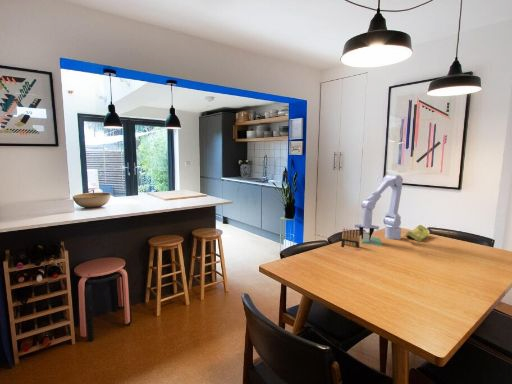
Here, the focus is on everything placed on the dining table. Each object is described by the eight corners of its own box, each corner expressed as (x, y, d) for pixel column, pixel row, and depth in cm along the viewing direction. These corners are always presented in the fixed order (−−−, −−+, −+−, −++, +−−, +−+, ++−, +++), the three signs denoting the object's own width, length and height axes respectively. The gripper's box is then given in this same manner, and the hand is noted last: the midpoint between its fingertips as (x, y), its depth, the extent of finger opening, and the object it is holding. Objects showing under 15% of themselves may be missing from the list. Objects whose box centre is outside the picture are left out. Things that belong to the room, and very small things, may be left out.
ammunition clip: (341, 246, 180) (342, 227, 178) (342, 245, 181) (343, 227, 180) (358, 250, 174) (359, 230, 172) (359, 249, 175) (360, 229, 173)
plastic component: (421, 238, 191) (407, 229, 197) (415, 247, 194) (402, 238, 200) (432, 231, 204) (418, 223, 210) (426, 239, 207) (413, 231, 213)
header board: (379, 240, 194) (380, 234, 194) (382, 248, 177) (383, 242, 177) (360, 238, 198) (361, 232, 197) (361, 246, 181) (362, 239, 180)
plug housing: (368, 239, 190) (368, 232, 189) (369, 242, 183) (369, 234, 183) (362, 238, 191) (363, 231, 191) (362, 241, 185) (363, 234, 184)
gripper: (355, 219, 184) (354, 239, 186) (379, 221, 179) (378, 242, 181) (355, 216, 191) (353, 236, 192) (378, 218, 186) (377, 239, 188)
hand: (365, 239), depth 187 cm, fingers closed on plug housing, 4 cm apart
